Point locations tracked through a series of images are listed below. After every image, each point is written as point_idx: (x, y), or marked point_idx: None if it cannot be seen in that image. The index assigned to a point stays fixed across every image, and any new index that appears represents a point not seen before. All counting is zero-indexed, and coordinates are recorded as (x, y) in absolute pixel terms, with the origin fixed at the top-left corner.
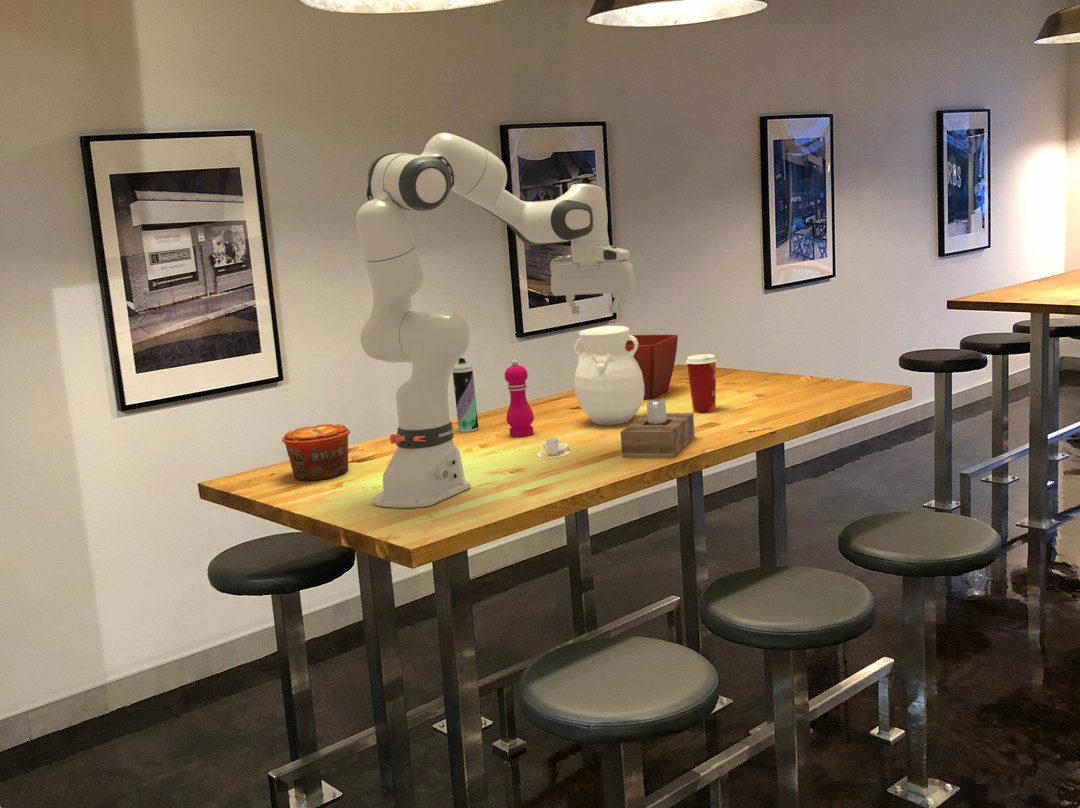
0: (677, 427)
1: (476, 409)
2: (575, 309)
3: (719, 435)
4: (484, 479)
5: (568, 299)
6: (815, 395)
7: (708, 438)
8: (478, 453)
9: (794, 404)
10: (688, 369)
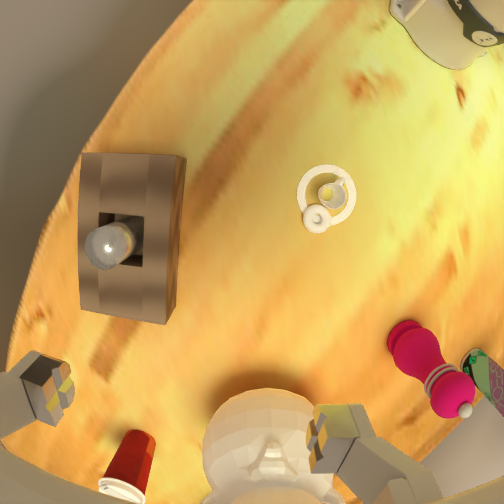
0: (79, 197)
1: (475, 379)
2: (335, 423)
3: (69, 298)
4: (390, 49)
5: (412, 478)
6: (51, 458)
7: (78, 281)
8: (449, 215)
9: (51, 432)
10: (140, 483)
